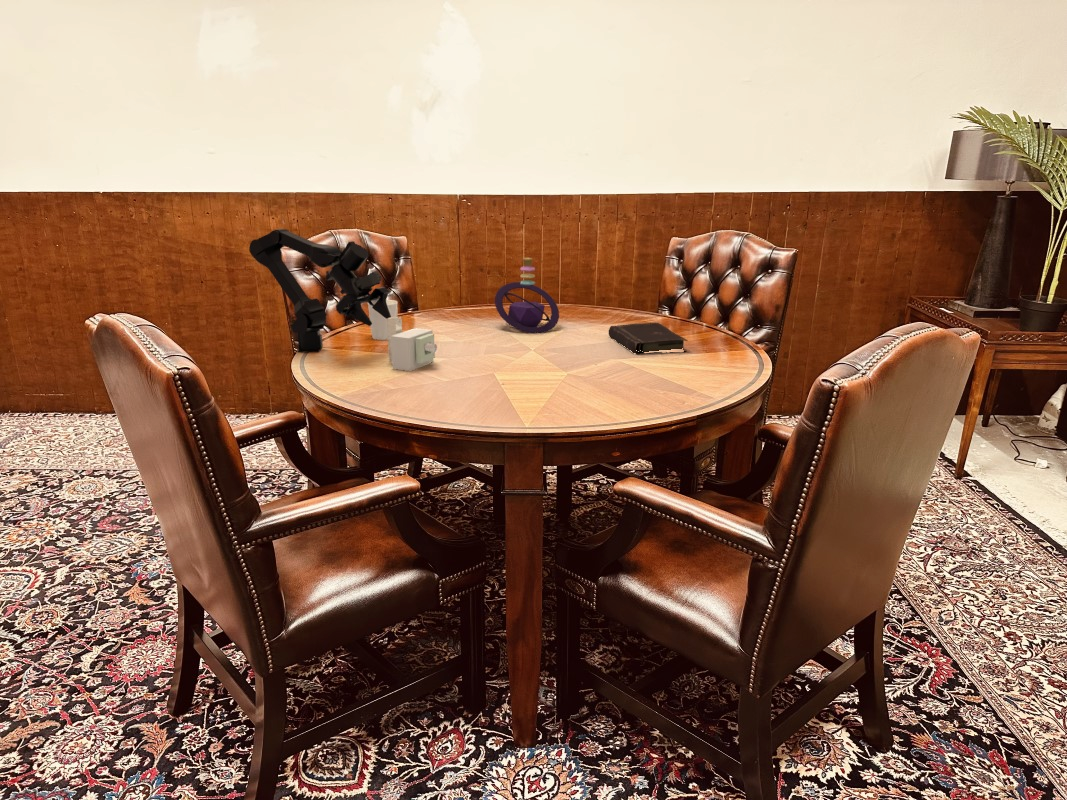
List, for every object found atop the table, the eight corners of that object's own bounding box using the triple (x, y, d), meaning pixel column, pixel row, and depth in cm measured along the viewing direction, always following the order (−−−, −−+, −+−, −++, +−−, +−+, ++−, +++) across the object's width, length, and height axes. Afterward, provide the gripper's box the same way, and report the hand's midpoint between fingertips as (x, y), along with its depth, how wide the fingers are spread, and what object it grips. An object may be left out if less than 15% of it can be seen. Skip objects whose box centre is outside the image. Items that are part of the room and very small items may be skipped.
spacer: (416, 362, 205) (415, 338, 202) (430, 357, 211) (429, 333, 208) (421, 363, 204) (420, 339, 202) (434, 357, 210) (434, 334, 208)
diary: (633, 357, 224) (634, 341, 222) (608, 339, 247) (608, 325, 246) (689, 353, 228) (690, 338, 226) (659, 336, 251) (659, 322, 249)
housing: (392, 368, 206) (390, 336, 203) (416, 359, 216) (415, 328, 213) (410, 371, 203) (408, 338, 200) (433, 361, 214) (432, 330, 211)
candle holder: (402, 334, 248) (401, 300, 244) (394, 341, 238) (392, 305, 235) (374, 333, 248) (372, 299, 245) (365, 340, 239) (363, 304, 235)
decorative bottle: (503, 336, 247) (502, 262, 239) (490, 323, 266) (489, 255, 258) (565, 333, 252) (567, 260, 245) (548, 321, 272) (549, 253, 264)
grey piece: (389, 362, 211) (386, 318, 207) (395, 359, 214) (393, 316, 210) (432, 368, 205) (430, 323, 201) (438, 365, 208) (436, 321, 204)
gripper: (340, 266, 200) (375, 309, 198) (382, 259, 216) (414, 299, 214) (321, 293, 205) (354, 334, 204) (362, 284, 221) (394, 322, 220)
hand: (380, 322), depth 211 cm, fingers open, 9 cm apart
